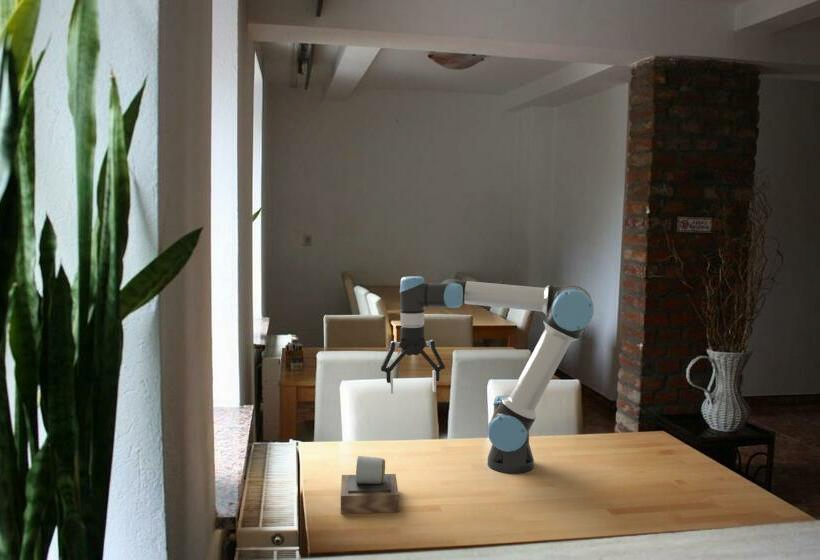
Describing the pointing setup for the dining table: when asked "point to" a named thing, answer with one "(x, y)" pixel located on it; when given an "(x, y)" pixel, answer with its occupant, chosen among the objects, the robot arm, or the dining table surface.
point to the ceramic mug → (370, 470)
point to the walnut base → (369, 495)
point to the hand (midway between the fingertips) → (413, 392)
